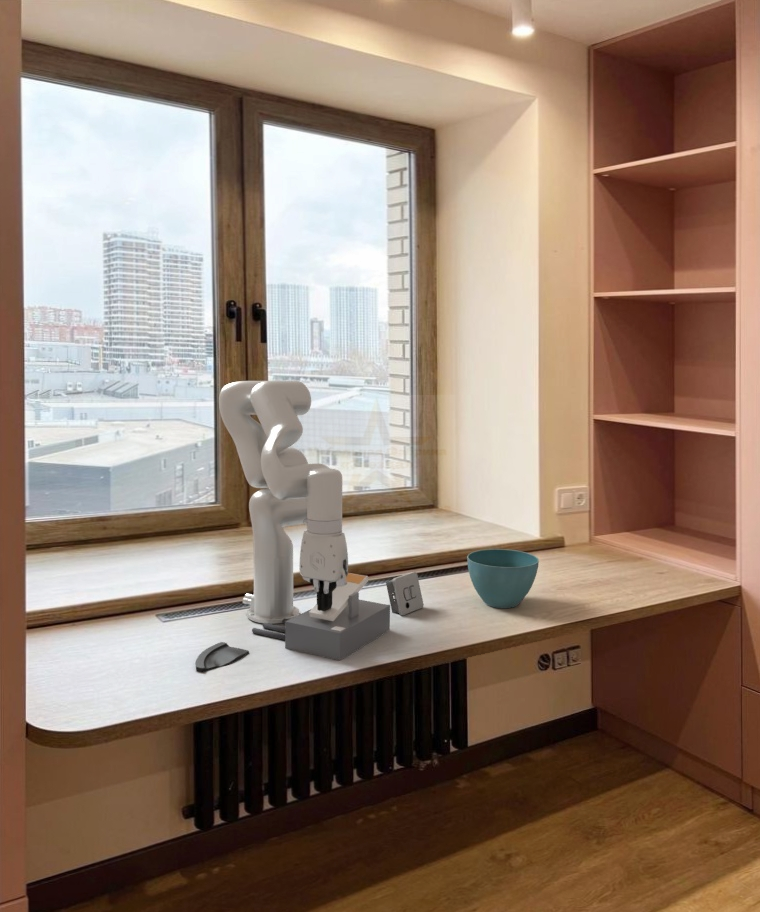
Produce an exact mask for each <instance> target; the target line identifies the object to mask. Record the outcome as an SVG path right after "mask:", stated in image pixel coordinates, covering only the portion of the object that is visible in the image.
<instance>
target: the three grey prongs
mask: <svg viewBox="0 0 760 912" xmlns="http://www.w3.org/2000/svg"><path fill="white" fill-rule="evenodd" d="M287 620H289V619H283V620H282V623H281V624H284V625H285V621H287ZM262 628H263V629H261V628H257V627H253V628H252V629H251V633H252V634H256V635H260V636H265V637H270V638H274V639H278V640H282V641H285V626H282V625H281V626H280V625H277V624H268V623H262ZM265 629H266V630H265ZM270 630H271V631H270ZM275 631H277V632H275ZM283 633H284V634H283Z"/></svg>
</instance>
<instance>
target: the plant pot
mask: <svg viewBox="0 0 760 912" xmlns="http://www.w3.org/2000/svg"><path fill="white" fill-rule="evenodd" d="M466 560H467V569H468V574H469V577H470V581H471V582H472V585H473V588H474V589H475V591H476V593H477V594H478V595H479V597H480V599H481V600H482V601H483V602H484V603H485V605H487V606H489V607H492V608H497V609H511V607H512V608H515V607H517V606H518V605H519V604H520V603H521V602H522V601H523V600H524V599H525V597H526V596H527V595H528V593H529V592H530V590H531V588H532V586H533V585H534V581H535V580H536V576H537V573H538V568H539V562H540V559H539V558H538V557H537V556H536V555H534V554H531V553H529V552H525V551H520V550H516V549H507V548H506V549H504V548H492V549H491V548H490V549H489V548H488V549H479V550H476V551H475V550H474V551H472V552H470V553H468V555H467V557H466Z"/></svg>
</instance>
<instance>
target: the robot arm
mask: <svg viewBox="0 0 760 912" xmlns="http://www.w3.org/2000/svg"><path fill="white" fill-rule="evenodd" d="M311 405H312V395H311V393H310V390H309V388H308V387H307V385H305V383H303V382H302V381H299V380H241V381H239V380H238V381H235V382H233V381H232V382H231V383H230V382H229V383H228V384H226V385H224V386H223V387H222V388H221V390H220V392H219V397H218V406H219V413H220V417H221V419H222V422H223V425H224V427H225V428H226V430H227V431H228V433H229V435H230V436H231V438H232V441H233V442H234V445H235V447H236V452H237V455H238V458H239V461H240V464H241V467H242V470H243V474H244V476H245V479H246V481H247V483H248V484H249V486H251V487H253V488H256V489H259V490H257V491H256V492H254V493H253V494H252V495H251V497H250V499H249V502H248V509H249V510H248V511H249V515H250V522H251V529H252V538H253V539H252V540H253V541H252V542H253V594H252V593H246V594H244V596H243V598H242V604H245V605H249V609H248V610H247V614H246V615H247V618H248V619H249V620H250V621H253V622H255V623H259V624H264V623H268V624H273V625H277V624H283V623H282V620H283V619H291V618H294V617H296V616H298V615H300V614H301V613H300V609H299V608H298V607H297V606H294V544H293V542H292V539H291V538H290V536H289V535H288V534H287V533H286V531H285V528H286V527H289V526H290V527H292V526H298V525H299V526H300V525H305V526H306V529H307V530H306V531H304V532H303V535H302V539H301V544H300V552H299V565H298V566H299V570H298V571H299V574H300V575H301V576H302V580H304V581H306V582H308V583H310V584H311V585H312V587H313V590H314V592H316V604H317V609H318V610H319V611H321V610H322V611H326V610H328V609H331V607H332V591H334V590H335V588H336V587H340V586H344V585H346V584H347V580H346V577H347V575H348V573H349V555H348V554H349V553H348V546H347V545H348V544H347V540H346V534H345V532H343V475H342V473H341V471H340V470H339V469H336V468H331V467H329V466H328V465H326V464H323V463H309V462H308V459H307V458H306V455H304V453H303V452H302V451H301V450H299V449H297V448H293V447H291V446H293V445H295V444H296V443H297V442H298V441H299V440H300V438H301V437H302V435H303V432H304V428H303V425H302V423H301V421H300V419H299V417H298V416H304V415H306V414H307V413H308V412H309V411H310V409H311ZM251 415H253V416H254V415H256V417H257V419H258V421H259V422H260V423H259V422H258V421H257V420H255V419H254V418H253V417H252V416H251Z"/></svg>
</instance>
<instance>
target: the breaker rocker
mask: <svg viewBox="0 0 760 912" xmlns="http://www.w3.org/2000/svg"><path fill="white" fill-rule="evenodd" d="M346 580H347V584H346V585H344V586H340V587H336V588H335V590H334V591H332V607H331V609H328V610H326V611H322V610H321V611H319V610H318V609H317V603H316V604H315V605H314V606H313V607H312V608H311V610H310V609H309V610H310V611H309V614H310V617H315V618H320V619H324V620H329V621H334V620H335V619H336V617H337V616H338V615H339V614H340V613H341V612H342V611H343V609H344V608H345V607H346V606H347V605H348V604H349V595H351V594H353V593H355V592H358V593H359V592H360V591H361V590H362V589H363V588H364V587H365V585H366V584H367V583H368V582H369V576H368V575H363V574H357V573H351V572H348V575H347V577H346Z"/></svg>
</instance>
